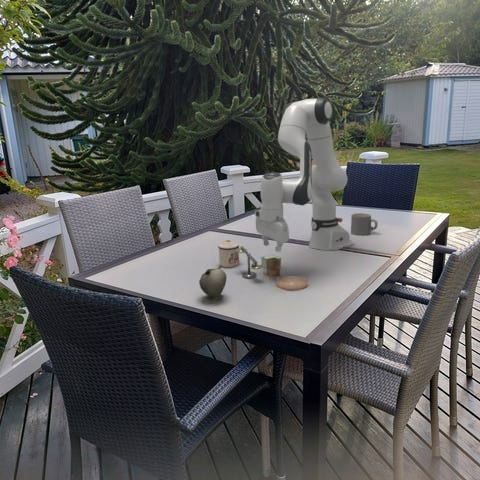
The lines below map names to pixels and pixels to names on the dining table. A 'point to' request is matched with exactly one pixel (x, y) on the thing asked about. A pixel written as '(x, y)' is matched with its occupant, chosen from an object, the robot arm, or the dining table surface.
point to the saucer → (291, 283)
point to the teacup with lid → (228, 253)
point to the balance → (254, 265)
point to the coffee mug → (362, 224)
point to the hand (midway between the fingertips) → (272, 248)
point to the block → (273, 267)
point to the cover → (263, 259)
